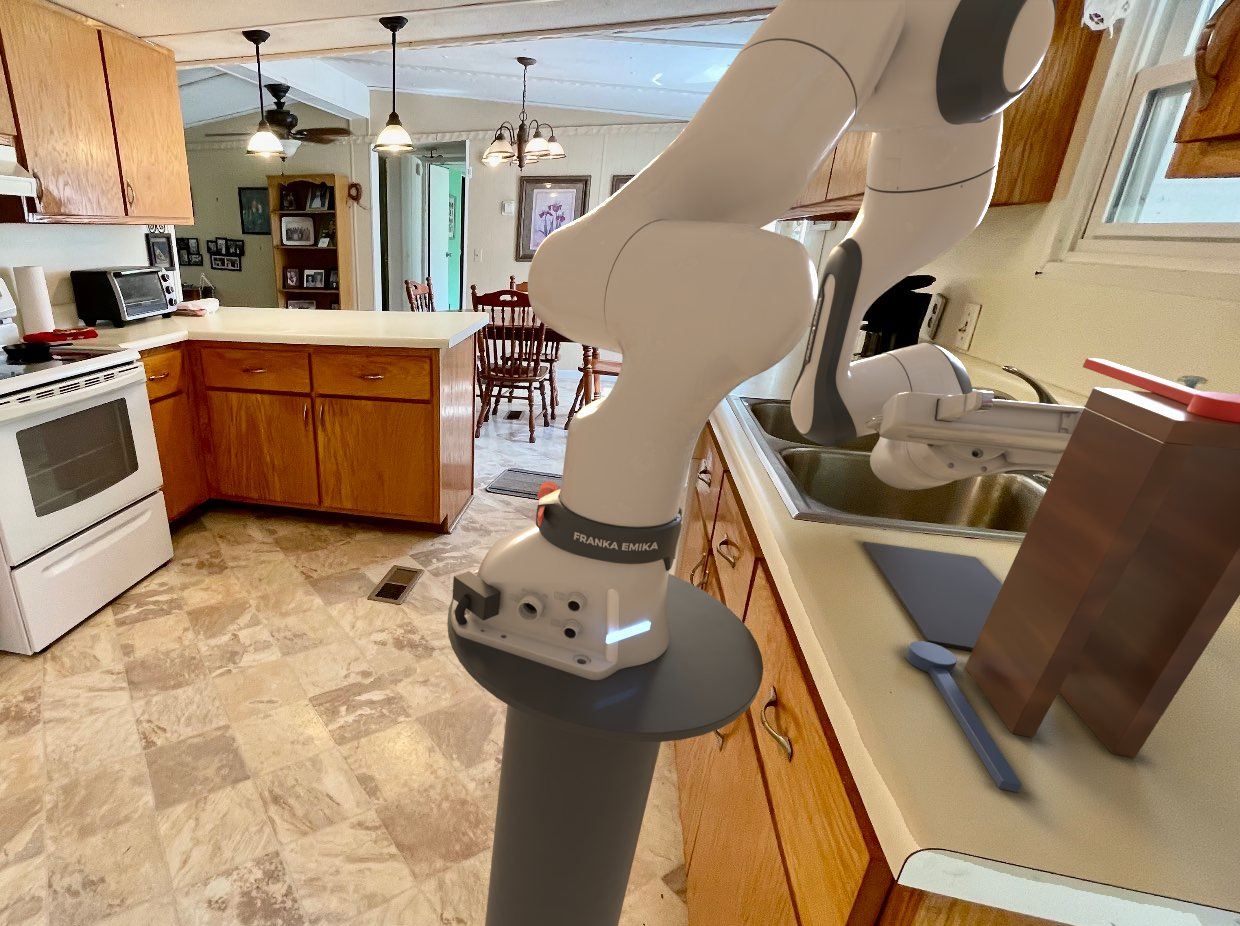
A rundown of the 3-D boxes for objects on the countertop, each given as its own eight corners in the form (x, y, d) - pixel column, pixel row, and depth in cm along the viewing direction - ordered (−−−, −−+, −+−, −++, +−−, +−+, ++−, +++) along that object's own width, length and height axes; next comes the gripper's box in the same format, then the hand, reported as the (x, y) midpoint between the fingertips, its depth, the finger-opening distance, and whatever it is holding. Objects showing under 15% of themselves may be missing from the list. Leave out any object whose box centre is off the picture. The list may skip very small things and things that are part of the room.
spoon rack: (1011, 733, 53) (1176, 420, 42) (964, 666, 60) (1093, 387, 49) (1135, 758, 50) (1343, 434, 39) (1070, 685, 58) (1228, 398, 47)
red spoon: (1064, 365, 57) (1070, 351, 56) (1116, 369, 56) (1123, 355, 55) (1211, 420, 42) (1221, 402, 41) (1285, 427, 41) (1296, 408, 40)
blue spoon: (1038, 797, 47) (1045, 785, 46) (978, 784, 48) (985, 772, 47) (943, 655, 62) (948, 645, 61) (899, 647, 63) (903, 637, 62)
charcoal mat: (927, 643, 64) (928, 640, 63) (862, 544, 83) (863, 541, 82) (1078, 669, 60) (1080, 666, 60) (974, 559, 79) (976, 556, 79)
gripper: (862, 400, 77) (919, 361, 64) (1073, 420, 72) (1184, 382, 59) (855, 453, 77) (912, 424, 64) (1067, 477, 71) (1177, 451, 58)
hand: (1044, 404), depth 61 cm, fingers open, 8 cm apart
